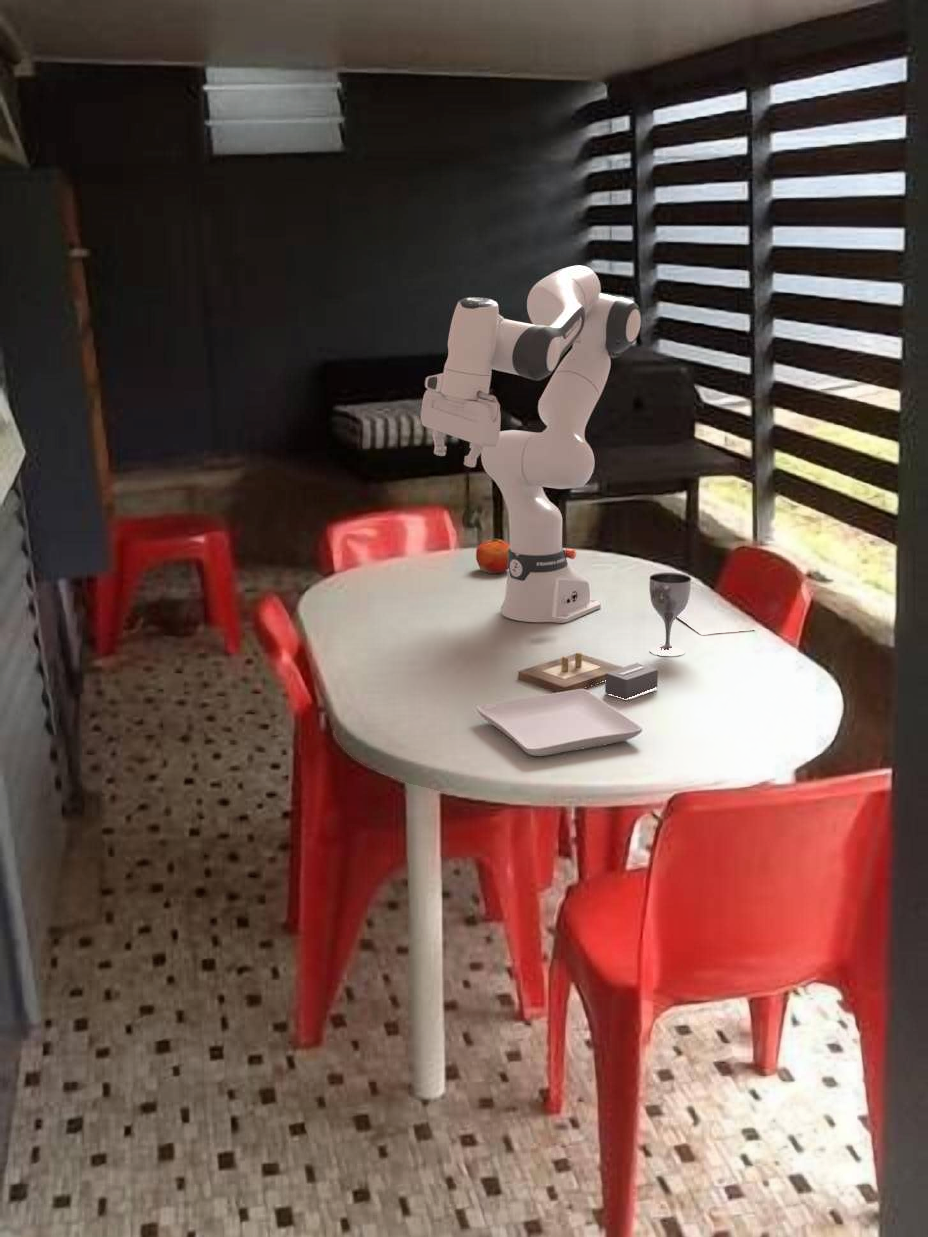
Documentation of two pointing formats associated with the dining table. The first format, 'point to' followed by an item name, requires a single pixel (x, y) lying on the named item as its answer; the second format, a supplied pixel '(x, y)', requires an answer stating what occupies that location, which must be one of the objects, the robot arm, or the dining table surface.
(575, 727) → the salad plate
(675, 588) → the wine glass
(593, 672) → the pin board
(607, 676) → the socket block
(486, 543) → the tomato
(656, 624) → the dining table surface
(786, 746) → the dining table surface
